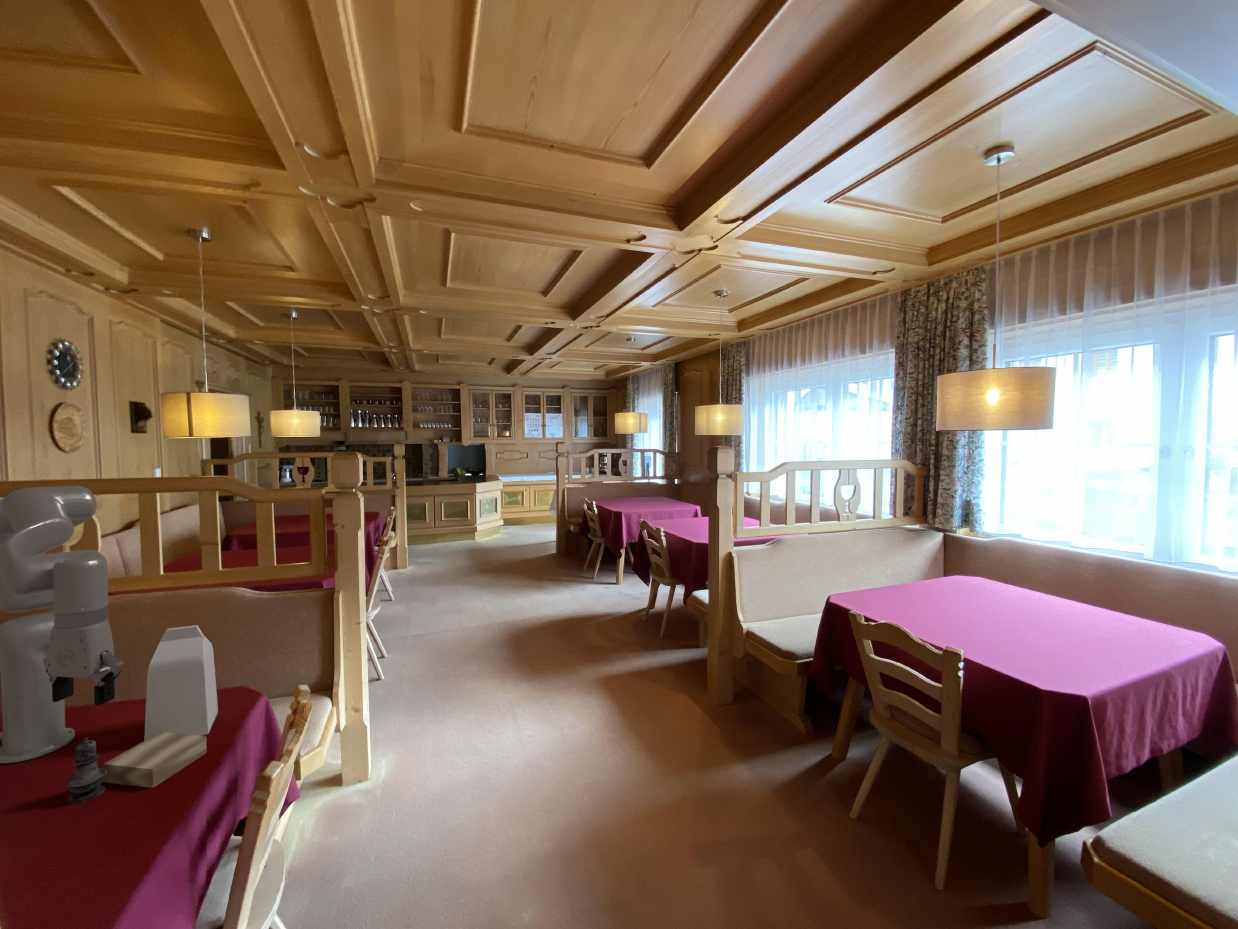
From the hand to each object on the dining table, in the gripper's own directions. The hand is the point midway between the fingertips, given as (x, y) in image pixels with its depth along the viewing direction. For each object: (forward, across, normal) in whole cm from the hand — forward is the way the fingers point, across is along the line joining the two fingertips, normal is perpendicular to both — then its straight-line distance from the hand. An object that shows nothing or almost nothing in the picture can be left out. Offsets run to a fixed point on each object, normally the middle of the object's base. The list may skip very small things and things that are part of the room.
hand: (83, 700), depth 101 cm
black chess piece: (+20, 0, 0) cm, 20 cm away
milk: (+20, -4, +24) cm, 32 cm away
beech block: (+20, +5, +10) cm, 23 cm away
